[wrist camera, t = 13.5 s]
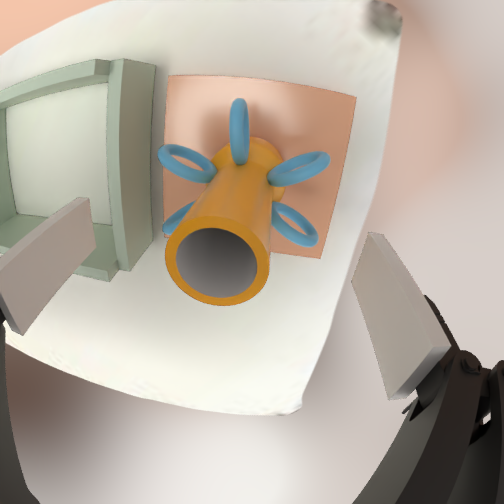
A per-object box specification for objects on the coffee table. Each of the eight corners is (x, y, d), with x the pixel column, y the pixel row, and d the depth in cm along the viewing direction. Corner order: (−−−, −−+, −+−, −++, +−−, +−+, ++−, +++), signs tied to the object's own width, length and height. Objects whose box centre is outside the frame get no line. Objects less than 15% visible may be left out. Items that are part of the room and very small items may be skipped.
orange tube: (341, 159, 22) (423, 243, 9) (276, 246, 27) (273, 381, 14) (219, 83, 19) (131, 59, 6) (165, 183, 24) (67, 277, 11)
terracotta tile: (167, 232, 28) (164, 237, 27) (172, 76, 20) (168, 75, 19) (319, 253, 28) (320, 258, 27) (353, 97, 20) (356, 97, 19)
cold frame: (14, 220, 29) (-38, 262, 19) (1, 101, 19) (-64, 122, 9) (153, 240, 29) (100, 314, 18) (155, 65, 19) (72, 51, 9)
